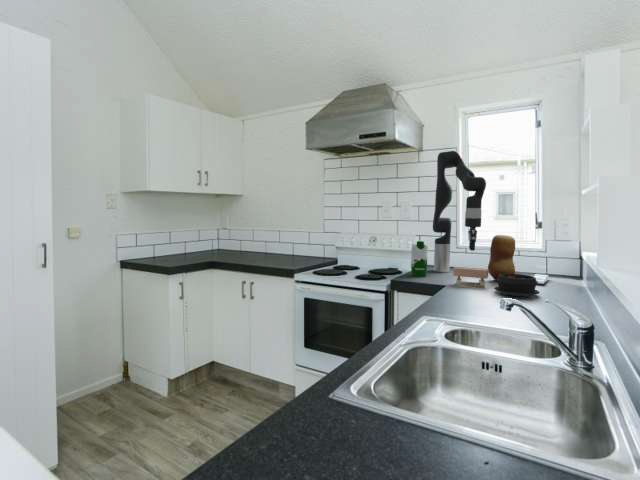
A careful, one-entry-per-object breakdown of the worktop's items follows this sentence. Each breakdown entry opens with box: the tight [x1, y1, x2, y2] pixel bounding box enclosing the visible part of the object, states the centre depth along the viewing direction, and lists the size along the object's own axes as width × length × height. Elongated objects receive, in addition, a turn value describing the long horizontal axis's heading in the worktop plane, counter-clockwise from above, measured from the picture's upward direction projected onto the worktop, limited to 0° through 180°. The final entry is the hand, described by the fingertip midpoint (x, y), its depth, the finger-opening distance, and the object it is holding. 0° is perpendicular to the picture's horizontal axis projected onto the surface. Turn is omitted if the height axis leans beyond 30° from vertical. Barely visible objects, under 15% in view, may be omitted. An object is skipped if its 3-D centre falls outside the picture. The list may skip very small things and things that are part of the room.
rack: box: [456, 276, 486, 289], centre depth 201 cm, size 10×13×4 cm
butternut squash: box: [487, 234, 516, 283], centre depth 213 cm, size 14×13×25 cm
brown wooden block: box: [452, 266, 489, 280], centre depth 200 cm, size 4×16×4 cm, turn 61°
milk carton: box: [410, 240, 428, 278], centre depth 228 cm, size 9×9×20 cm
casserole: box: [494, 273, 540, 298], centre depth 180 cm, size 25×19×8 cm
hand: (471, 249), depth 199 cm, fingers open, 8 cm apart
